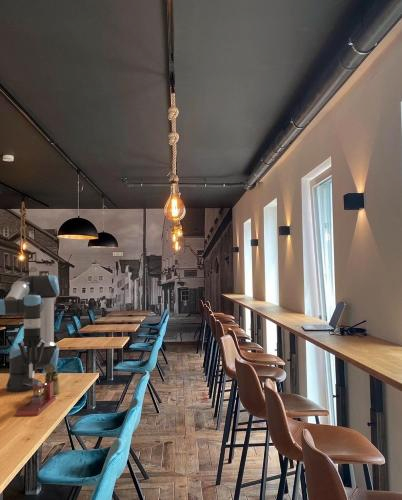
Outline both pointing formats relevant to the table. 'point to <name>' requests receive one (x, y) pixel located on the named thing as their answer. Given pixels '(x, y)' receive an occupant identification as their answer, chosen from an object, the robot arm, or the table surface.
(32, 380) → the nutcracker lever
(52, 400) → the nutcracker base
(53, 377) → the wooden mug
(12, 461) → the table surface
